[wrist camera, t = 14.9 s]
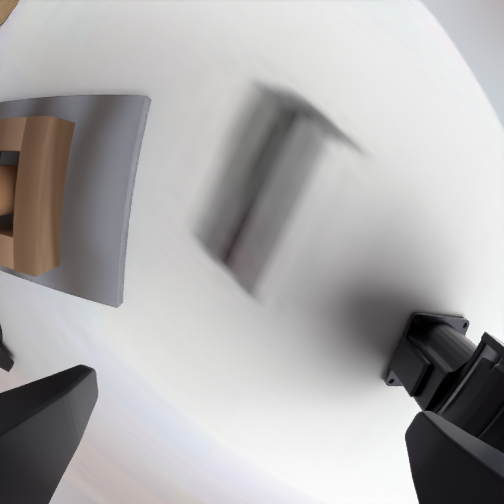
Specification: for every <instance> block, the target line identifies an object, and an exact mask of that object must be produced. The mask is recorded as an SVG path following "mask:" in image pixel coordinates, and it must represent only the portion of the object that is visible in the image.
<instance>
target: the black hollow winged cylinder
mask: <svg viewBox="0 0 504 504" xmlns="http://www.w3.org/2000/svg"><path fill="white" fill-rule="evenodd" d="M2 339H3V336H2V329H1V325H0V345H1V344H2ZM13 364H14V361H13V360H12V359H11V358H10V357H9V356H8V355H7V354H6V353H5V352H4V350H3V349H2V348H1V346H0V368H2V369H4V370H6V371H8V372H9V371H10V370H11V368H12V366H13Z"/></svg>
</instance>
